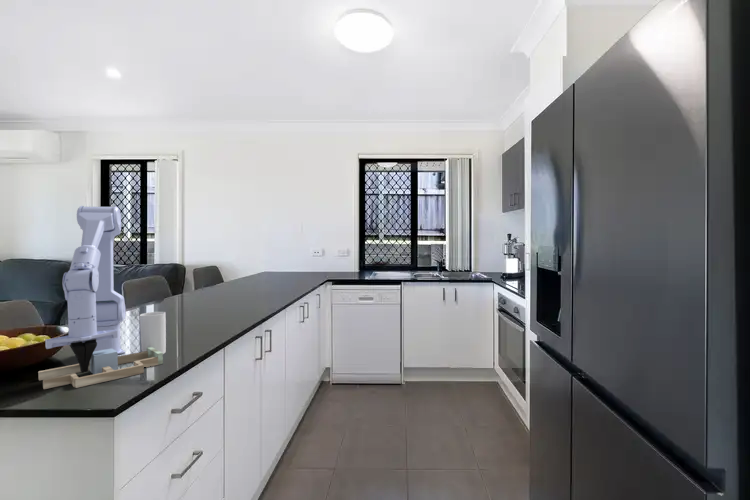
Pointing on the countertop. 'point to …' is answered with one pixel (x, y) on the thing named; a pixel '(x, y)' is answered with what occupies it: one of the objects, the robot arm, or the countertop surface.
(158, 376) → the countertop surface
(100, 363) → the block
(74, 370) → the beige flat frame
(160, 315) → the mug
